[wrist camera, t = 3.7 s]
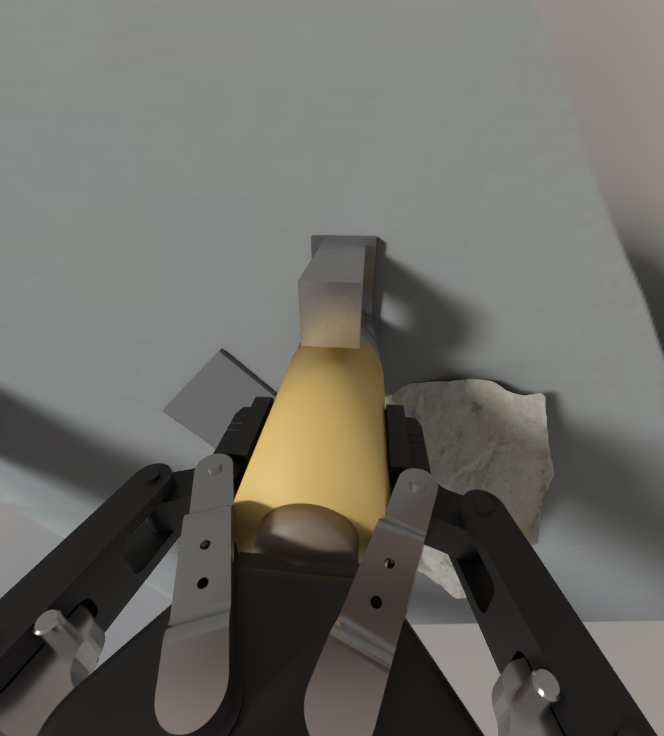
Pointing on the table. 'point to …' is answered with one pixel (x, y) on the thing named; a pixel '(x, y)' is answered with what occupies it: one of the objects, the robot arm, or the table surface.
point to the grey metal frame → (339, 293)
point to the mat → (216, 397)
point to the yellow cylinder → (319, 461)
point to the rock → (481, 452)
